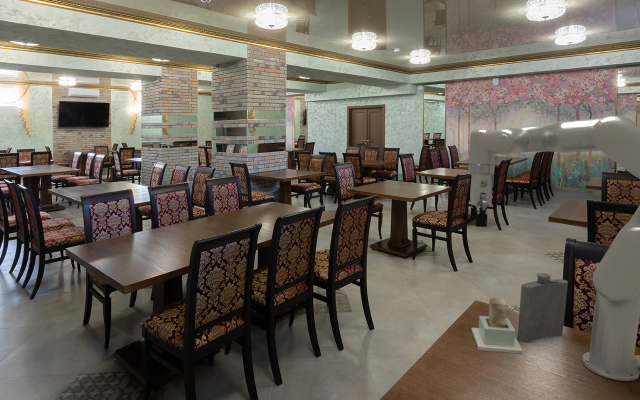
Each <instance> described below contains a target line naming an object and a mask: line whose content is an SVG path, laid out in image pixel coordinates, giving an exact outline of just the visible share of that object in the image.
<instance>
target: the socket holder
mask: <svg viewBox="0 0 640 400" xmlns="http://www.w3.org/2000/svg"><path fill="white" fill-rule="evenodd" d="M478 318H479V320H478V327H471V333H472V335H473V340H474V342H475V345H476V348H477V350H478V351H485V352H495V353H496V352H497V353H507V354H516V355H517V354H518V355H519V354H520V355H523V352H524V351H523V349H522V347H521V345H520V343H519V342H518V341H519V340H518V339H517V337H516V329H515V327H514V326H513V324H512V322H511V320H510V318H509V317H506V326H505V328H499V327H489V326H488V320H489V315H488V316H485V315H479V316H478Z"/></svg>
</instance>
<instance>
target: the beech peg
mask: <svg viewBox="0 0 640 400" xmlns="http://www.w3.org/2000/svg"><path fill="white" fill-rule="evenodd" d="M488 306H489V307H488V317H489V320H488V326H489V327H499V328H505V326H506V318H507V310H508V304H507V302H506V300H505V298H496V297H495V298H493V297H489V305H488Z"/></svg>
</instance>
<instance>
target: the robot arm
mask: <svg viewBox="0 0 640 400" xmlns="http://www.w3.org/2000/svg"><path fill="white" fill-rule="evenodd" d="M534 152H535V153H537V152H538V153H539V152H552V153H553V152H554V153H558V154H565V153H566V154H567V153H580V152H581V153H585V152H587V153H588V152H601V153H602V154H604V155H605V156H607V157H608V158H609V159H611V160H612V161H613V162H615V163H616V164H618V165H619V166H620V167H622V168H623V169H625V170H626V171H627V172H629V173H630V174H632V175H633V176H635V178H638V179H639V180H640V128H639V127H638V126H637V125H636V123H635V122H634V120H633V119H631V118H629V117H627V116H625V115H609V116H605V117H604V116H603V117H594V118H584V119H575V120H574V119H573V120H564V121H558V122H555V123H553V124H548V125H547V124H546V125H541V126H539V125H538V126H532V127H531V126H530V127H529V126H528V127H518V128H517V127H515V128H514V127H510V128H508V127H507V128H498V129H492V128H490V129H489V128H488V129H486V128H483V129H482V128H481V129H474V130H472V131H471V132H470V136H469V154H468V155H469V156H468V168H467V169H468V175H471V179H470V180H471V182H470V195H469V196H470V197H469V198H470V200H469V201H470V202H471V204H470V205H471V206H470V214H469V215H470V216H469V217H470V220H471V221H475V227H477V228H487V225H488V208H490V207H492V201H493V200H492V199H493V197H492V194H493V191H492V190H493V184H492V182H493V181H492V176H494V175H495V166H496V165H495V164H496V154H499V155H512V154H519V153H520V154H521V153H534ZM592 284H593V287H594V289H595V291H596V293H595V294H596V296H595V302H594V303H595V304H594V311H593V318H592V327H591V337H590V344H589V345H590V346H589V351H587V352H584V353H583V354H582V356H581V362H582V364H583V365H584V366H585V368H587V369H589V371H591V372H592V373H594V374H596V375H599V376H601V377H604V378H607V379H609V380H610V379H611V380H615V381H621V382H631V381H635V380H638V379H639V376H640V355H638V354H637V355H635V351H636V344H637V337H638V336H637V335H638V329H639V322H640V205H638V207H637V209H636V210H635V212H634V214H633V215H632V217H631V218H630V219H629V221H628V222H627V223H626V224H625V225H624V226H623V227H622V228H621V229H620V230H619V232H618V233H617V234H616V235H615V238H614V239H613V241H612V243H611V244H610V246H609V247H608V249H607V250H606V252H605V254H604V256H603V257H602V259H601V260H600V262H599V263H598V265H597V267H596V268H595V270H594V272H593V275H592Z"/></svg>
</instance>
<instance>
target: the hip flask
mask: <svg viewBox="0 0 640 400" xmlns="http://www.w3.org/2000/svg"><path fill="white" fill-rule="evenodd" d="M536 278H537V280H536V281H535V280H534V281H530V282H525V283H522V284H521V286H520V300H519V301H520V303H519V314H518V315H519V316H518V324H517V325H518V326H517V337H516V339H517V341H519V342H522V343H528V342H532V341H535V340H540V339H546V338H553V337H555V338H556V337H562V336H563V335H564V325H565V315H566V314H565V313H566V304H567V294H568V293H567V292H568V284H569V283H568V282H569V281H568V280H565V279H562V278H559V279H558V278H557V279H555V278H553V279H552V278H551V275H550V274H548V273H543V272H540V273H537V274H536Z"/></svg>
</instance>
